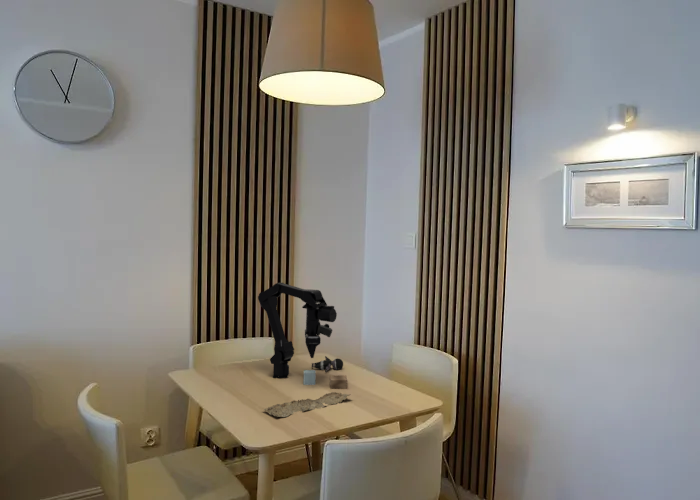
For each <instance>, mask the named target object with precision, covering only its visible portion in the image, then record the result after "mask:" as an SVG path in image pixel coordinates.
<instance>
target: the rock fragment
mask: <svg viewBox="0 0 700 500" xmlns="http://www.w3.org/2000/svg"><path fill="white" fill-rule="evenodd" d="M349 396H351V394H347V393H341V392H335V391H334V392H333V391H332V392H329V393H325V394H324V395H322V396H320V397H319V398H316V399H311V398H307V399H298V400H295V399H294V400H292V401H290V402H283V403H282V404H280V403H277V404H274V405H272V406H268V407H266V408H264V407H263V408H262V409H263V411H264V412H266V413H268V414H269V415H270V416H274V417H277V418H286V417H289V416H290V415H293V414H295V413H297V412H301V413H304V412H305V411H310V410H313V411H314V410H315V409H323V408H324V407H327V406H331V405H334V404H335V405H336V404H340V403H342V402H343V400H344V401H345V400H347V398H348V397H349ZM324 404H325V405H324Z"/></svg>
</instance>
